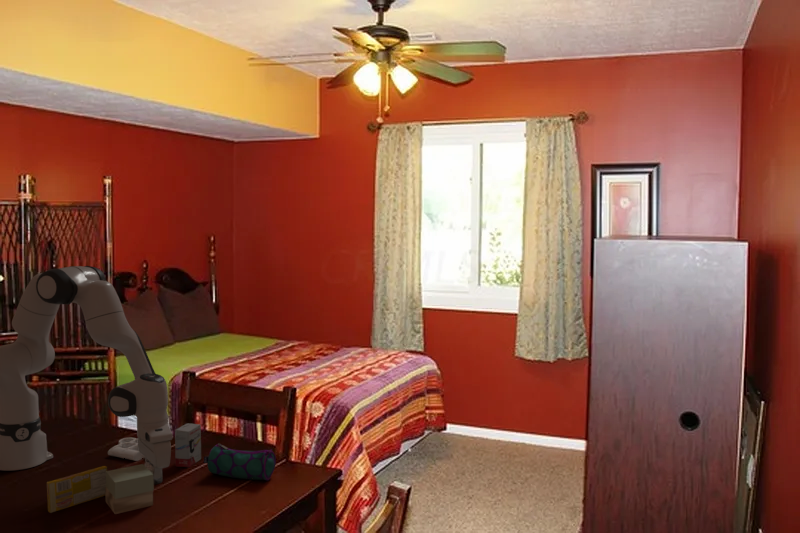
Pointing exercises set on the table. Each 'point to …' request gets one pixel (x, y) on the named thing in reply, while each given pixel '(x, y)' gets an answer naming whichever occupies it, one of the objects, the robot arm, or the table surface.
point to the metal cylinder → (151, 469)
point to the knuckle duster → (127, 449)
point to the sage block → (129, 481)
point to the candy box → (76, 489)
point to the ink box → (187, 445)
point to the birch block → (128, 501)
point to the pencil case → (241, 463)
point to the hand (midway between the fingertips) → (153, 474)
